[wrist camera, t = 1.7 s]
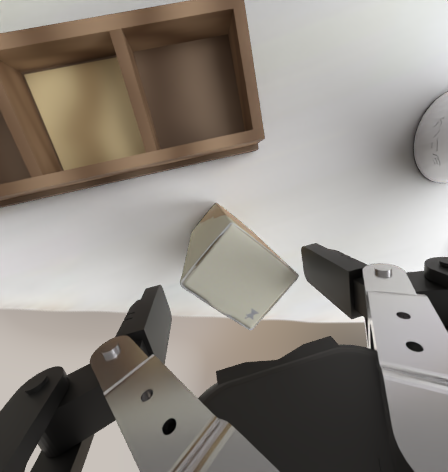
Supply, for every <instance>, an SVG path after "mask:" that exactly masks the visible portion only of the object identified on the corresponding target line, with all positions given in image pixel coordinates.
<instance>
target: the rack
mask: <svg viewBox="0 0 448 472" xmlns="http://www.w3.org/2000/svg"><path fill="white" fill-rule="evenodd" d="M263 139H265V136H264V130H263V123H262V116H261V110H260V103H259V97H258V90H257V83H256V77H255V70H254V63H253V57H252V50H251V43H250V37H249V30H248V23H247V17H246V10H245V3H244V0H190V1H184V2H179V3H173V4H167V5H161V6H156V7H150V8H144V9H138V10H133V11H127V12H121V13H115V14H110V15H104V16H98V17H92V18H87V19H81V20H75V21H69V22H64V23H58V24H52V25H46V26H41V27H35V28H29V29H23V30H18V31H12V32H6V33H0V208H1V207H6V206H10V205H15V204H19V203H24V202H28V201H32V200H37V199H41V198H46V197H50V196H55V195H59V194H64V193H68V192H73V191H77V190H82V189H86V188H91V187H95V186H100V185H104V184H108V183H113V182H117V181H122V180H126V179H131V178H135V177H140V176H144V175H149V174H153V173H158V172H162V171H167V170H171V169H176V168H180V167H184V166H189V165H193V164H198V163H202V162H207V161H211V160H216V159H220V158H225V157H229V156H234V155H238V154H243V153H247V152H252V151H256V150H258V143H259V142H260V141H262V140H263Z"/></svg>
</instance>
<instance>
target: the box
mask: <svg viewBox="0 0 448 472" xmlns="http://www.w3.org/2000/svg"><path fill="white" fill-rule="evenodd" d="M298 276H299V275H298V274H297V273H296V272H295V271H294V270H293V269H292V268H291V267H290V266H288V265H287V264H286V263H285V262H284V261H283V260H282V259H281V258H280V257H279V256H278V255H277V254H276V253H275V252H273V251H272V250H271V249H270V248H269V247H268V246H267V245H266V244H265V243H264V242H263V241H262V240H261V239H260V238H259V237H258V236H256V235H255V234H254V233H253V232H252V231H251V230H250V229H249V228H248V227H246V226H245V225H244V224H243V223H242V222H240V221H239V220H238V219H237V218H235V217H234V216H233V215H232V214H230V213H229V212H228V211H227V210H225V209H224V208H223V207H222V206H220V205H219V204H218V203H215V204H214V205H213V206H212V208H211V209H210V210H209V211H208V212H207V214H206V215H205V216H204V217H203V218H202V220H201V221H200V222H199V223H198V225H197V226H196V227H195V229H194V230H193V231H192V233H191V236H190V241H189V246H188V250H187V255H186V259H185V264H184V268H183V273H182V276H181V280H180V285H181V286H182V287H183V288H184V289H186V290H187V291H189V292H190V293H192V294H193V295H195V296H196V297H198V298H199V299H201V300H202V301H204V302H205V303H207V304H208V305H210V306H211V307H213V308H215V309H216V310H218V311H219V312H221V313H222V314H224V315H226V316H227V317H229V318H231V319H232V320H234V321H235V322H237V323H239V324H240V325H242V326H244V327H246V328H247V329H248V330H252V329H253V328H254V327H255V326H256V325H257V324H258V323H259V322H260V321H261V319H262V318H263V317H264V316H265V315H266V314H267V313H268V312H269V311H270V310H271V308H272V307H273V306H274V305H275V304H276V303H277V302H278V301H279V299H280V298H281V297H282V296H283V295H284V294H285V293H286V291H287V290H288V289H289V288H290V286H291V285H292V284H293V283H294V282H295V281H296V280H297V278H298Z"/></svg>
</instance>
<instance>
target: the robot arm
mask: <svg viewBox="0 0 448 472" xmlns="http://www.w3.org/2000/svg"><path fill="white" fill-rule="evenodd" d="M414 156H415V160H416V164H417V166H418V168H419V170H420V172H421V173H422V174H423V175H424V176H425V177H426V178H428V179H430V180H431V181H434V182H438V183H448V92H446V93H444V94H443V95H441V96H440V97H439V98H437V99H436V100H435V101H434V102H433V104H432V105H431V106H430V107H429V108H428V110H427V111H426V112H425V114H424V115H423V117H422V119H421V121H420V124H419V126H418V129H417V132H416V135H415V142H414ZM301 253H302V261H303V269H304V274H305V277H306V279H307V281H308V282H309V283H310V284H311V285H312V286H313V287H315V288H316V289H317V290H318V291H319V292H320V293H322V294H323V295H324V296H325V297H326V298H327V299H329V300H330V301H331V302H332V303H333V304H334V305H336V306H337V307H338V308H339V309H340V310H341V311H343V312H344V313H345V314H346V315H347V316H348V317H350V318H351V319H354V318H357V317H360V316H364V317H365V330H366V338H367V347H368V348H366V347H361V346H355V345H338V344H337V343H336V342H335V340H334V339H333V338H332V337H331V336H329V337H325V338H322V339H319V340H316V341H313V342H310V343H306V344H303V345H302V346H300V347H298V348H297V349H295V350H293V351H292V352H290V353H289V354H287V355H285V356H284V357H282V358H280V359H278V360H271V361H257V362H245V363H242V364H238V365H235V366H232V367H229V368H225V369H222V370H219V371H216V375H217V383H216V384H214V385H213V386H211V387H210V388H209V389H208V390H206V391H205V392H204V393H203V394H202V395H201V396H200V397H199V398H197V397H196V396H195V395H194V394H193V393H192V392H191V391H190V390H189V389H188V388H187V387H186V386H185V385H184V384H183V383H182V382H181V381H180V380H179V379H178V378H177V377H176V376H175V375H174V374H173V373H172V372H171V371H170V370H169V369H168V368H167V367H166V366H165V365H164V364H165V358H166V352H167V345H168V340H169V333H170V327H171V321H172V318H171V312H170V308H169V305H168V302H167V300H166V297H165V294H164V291H163V288H162V286H161V285H158V286H154V287H150V288H147V289H145V291H144V294H143V296H142V298H141V300H137V301H136V302H135V303H134V304H133V305H132V306H131V307H130V309H129V311H128V313H127V315H126V317H125V319H124V321H123V323H122V325H121V327H120V329H119V331H118V332H117V335H116V336H115V338H112V339H110V340H109V341H107V342H105V343H104V344H102V345H101V346H100V347H99V348H98V349H97V350H96V351H95V352H94V353H93V355H92V356H91V359H90V364H88V365H86V366H84V367H83V368H80V369H79V370H76V371H75V372H73V373H71V374H69V375H66V373H65V371H64V369H63V368H62V367H52V368H49V369H47V370H45V371H43V372H41V373H39V374H37V375H36V376H34V377H33V378H31V379H30V380H28V381H27V382H26V383H25V384H24V385H23V386H21V387H20V388H19V389H18V390H17V391H16V393H15V394H14V395H13V396H12V398H11V399H10V400H9V401H8V402H7V404H6V405H5V406H4V408H3V409H2V410H1V411H0V472H24V471H25V467H26V464H27V462H28V460H29V458H30V456H31V454H32V453H33V451H34V449H35V447H36V445H37V444H38V445H39V446H40V448H41V450H42V451H41V453H40V455H39V456H38V459H37V460H36V462H35V464H34V466H33V468H32V470H31V471H30V472H81V471H82V468H83V465H84V462H85V459H86V457H87V454H88V451H89V448H90V445H91V442H92V439H93V436H94V433H96V432H98V431H99V430H101V429H102V428H104V427H106V426H107V425H109V424H110V423H112V422H113V421H115V420H116V421H117V423H118V426H119V428H120V430H121V432H122V434H123V436H124V438H125V440H126V443H127V445H128V447H129V449H130V451H131V453H132V455H133V458H134V460H135V462H136V464H137V466H138V468H139V470H140V472H448V257H436V258H430V259H428V260H426V261H425V265H424V271H419V272H408V273H406V272H405V270H403V269H402V268H400V267H398V266H395V265H391V264H381V263H378V264H370V265H367V264H365V263H362V262H360V261H358V260H356V259H354V258H351V257H350V256H347V255H344V254H343V253H341V252H339V251H336V250H331V249H327V248H325V247H323V246H321V245H319V244H317V243H314V244H311V245H307V246H303V247H302V249H301Z"/></svg>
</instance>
